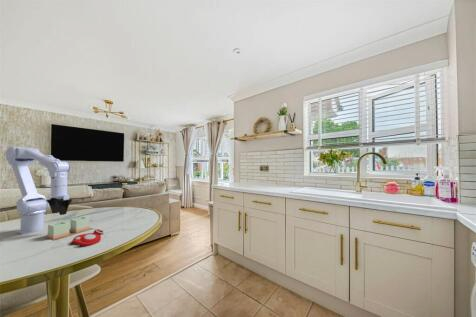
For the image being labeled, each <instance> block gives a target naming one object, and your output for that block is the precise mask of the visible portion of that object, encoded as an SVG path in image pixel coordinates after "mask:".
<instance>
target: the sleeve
mask: <svg viewBox="0 0 476 317" xmlns="http://www.w3.org/2000/svg"><path fill="white" fill-rule="evenodd" d="M69 230H70V222H68V221H57V222H54V223H50V224H48V225H47V236H48V237H49V238H51V239H56V238H59V237H63V236H66V235H70V232H69Z"/></svg>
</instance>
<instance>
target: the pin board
mask: <svg viewBox="0 0 476 317" xmlns="http://www.w3.org/2000/svg"><path fill="white" fill-rule="evenodd" d="M91 230H94V228H93V227H90V229H87V230H83V231H80V232H72V231H70V229H69V232H70V235H66V236H63V237H59V238H56V239H51V238H49V237H48V235H45V236H44V239H48V240H51V241H57V240H61V239H64V238H68V237H71V236H74V235H79V234H83V233H85V232H88V231H91Z"/></svg>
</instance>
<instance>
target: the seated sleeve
mask: <svg viewBox="0 0 476 317" xmlns="http://www.w3.org/2000/svg"><path fill="white" fill-rule="evenodd" d="M90 224H91V222H90V217H88V216H80V217H75V218H72V219H70V227H69V230H70V231H72V232H80V231H83V230H87V229H90V228H91V225H90Z"/></svg>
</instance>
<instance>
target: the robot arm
mask: <svg viewBox="0 0 476 317" xmlns="http://www.w3.org/2000/svg"><path fill="white" fill-rule="evenodd" d="M5 157H6V161H7V163H8V165H10V166H11V168H12V170H13V173H14V174H13V175H14V177H15V179H16V182H17V185H18V187H19V188H18V189H19V190H20V194H21V198H19V199H18V200H16V212H17V213H18V214H19V216H21V218H20V230H18V231H17V233H19V234H22V235H24V234H28V233H32V232H37V231H41V230H44V229H46V227H45V213H46V212H47V210H48V209H49V208H50V210H51V213H52V214H58V213H59V215H60V216H63V215H67V212H68V209H69V207H70V204H71V203H72V201H73V199H72V198H70V195H69V194H68V173H69V172H70V170H71V164H70V163H69V161H65V160H64V161H61V160H60V159H59V158H55V157H54V156H53V155H51V154H48V155H47V154H43V153H42V152H41V151H40V149H38V148H37V147H27V146H26V147H23V146H14V145H13V146H9V147H8V148H7V149H6V152H5ZM35 161H38V165H40V166H42V167H44V168H46V169H47V171H48V172H47V173H49V174H48V175H49V177H50V194H49V195H48V196H47V198H49V199H47V198H46V196H45V195H43V194H41V193H38V190H37V188H36V185H35V182H34V179H33V177H32V173H31V172H30V168H29V166H31V165H33V164H34V163H35Z"/></svg>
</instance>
